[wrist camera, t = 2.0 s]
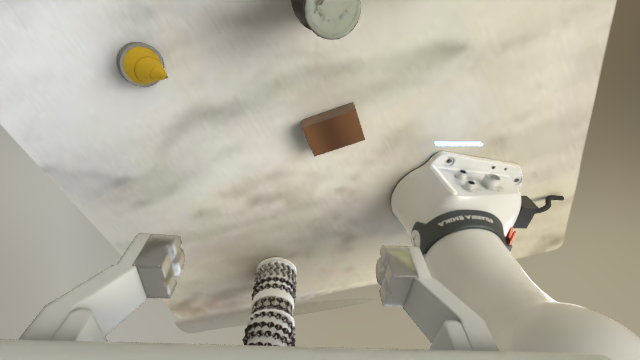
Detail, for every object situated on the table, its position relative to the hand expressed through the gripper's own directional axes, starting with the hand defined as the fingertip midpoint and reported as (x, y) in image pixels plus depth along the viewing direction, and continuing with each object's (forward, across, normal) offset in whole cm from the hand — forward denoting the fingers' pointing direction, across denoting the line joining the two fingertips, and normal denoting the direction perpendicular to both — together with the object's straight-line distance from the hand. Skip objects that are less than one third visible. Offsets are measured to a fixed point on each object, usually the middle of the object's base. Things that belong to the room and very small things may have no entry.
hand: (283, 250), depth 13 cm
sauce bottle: (+36, -2, -8) cm, 36 cm away
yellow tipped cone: (+35, +20, +2) cm, 40 cm away
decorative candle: (+35, +3, +44) cm, 56 cm away
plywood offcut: (+35, -5, +10) cm, 37 cm away
